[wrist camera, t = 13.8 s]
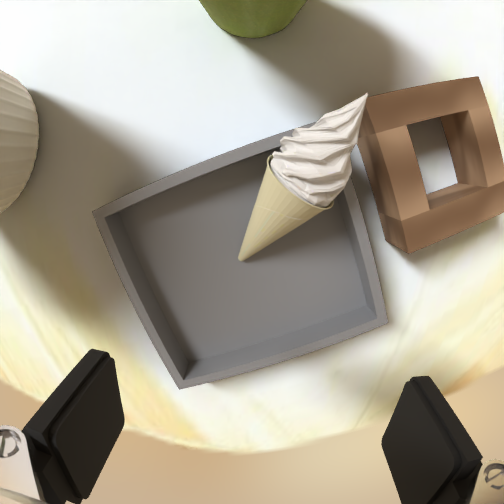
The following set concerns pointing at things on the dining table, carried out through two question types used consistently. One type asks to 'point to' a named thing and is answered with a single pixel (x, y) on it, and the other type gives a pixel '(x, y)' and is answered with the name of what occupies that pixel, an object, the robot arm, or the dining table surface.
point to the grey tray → (238, 270)
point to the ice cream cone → (304, 176)
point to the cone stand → (407, 169)
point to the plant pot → (252, 15)
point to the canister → (16, 138)
